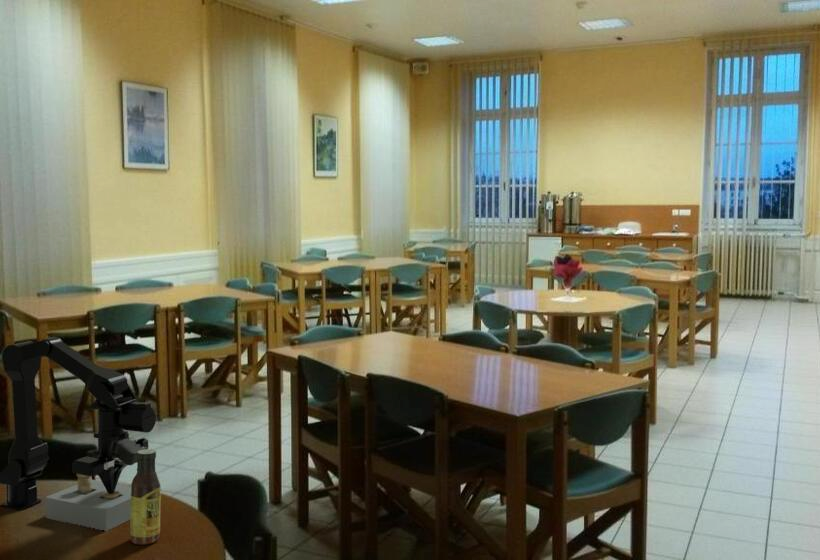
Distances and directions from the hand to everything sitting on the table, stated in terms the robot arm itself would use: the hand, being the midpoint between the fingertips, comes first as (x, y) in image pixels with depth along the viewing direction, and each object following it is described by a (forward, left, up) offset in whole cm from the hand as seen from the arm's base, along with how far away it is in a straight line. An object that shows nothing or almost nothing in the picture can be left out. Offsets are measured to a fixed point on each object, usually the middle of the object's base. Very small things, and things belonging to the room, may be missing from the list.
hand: (111, 493), depth 184 cm
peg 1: (-8, 0, -2) cm, 8 cm away
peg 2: (0, 0, -6) cm, 6 cm away
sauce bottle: (+16, -7, -6) cm, 18 cm away
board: (-4, 0, -6) cm, 7 cm away
